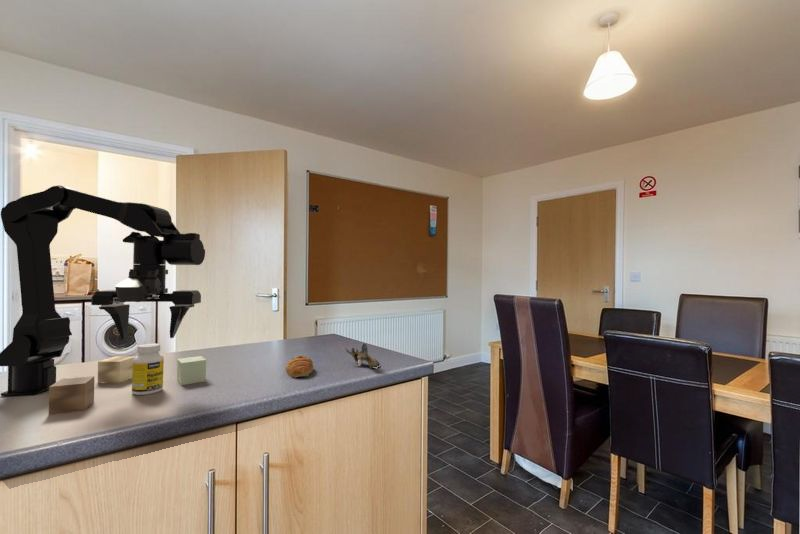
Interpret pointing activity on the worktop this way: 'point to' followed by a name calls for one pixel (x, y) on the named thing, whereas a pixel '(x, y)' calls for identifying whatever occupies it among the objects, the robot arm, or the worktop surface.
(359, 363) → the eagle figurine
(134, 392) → the supplement bottle
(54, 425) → the worktop surface
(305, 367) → the pastry
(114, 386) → the worktop surface
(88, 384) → the walnut block
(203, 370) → the sage block
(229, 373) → the worktop surface
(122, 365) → the maple block
